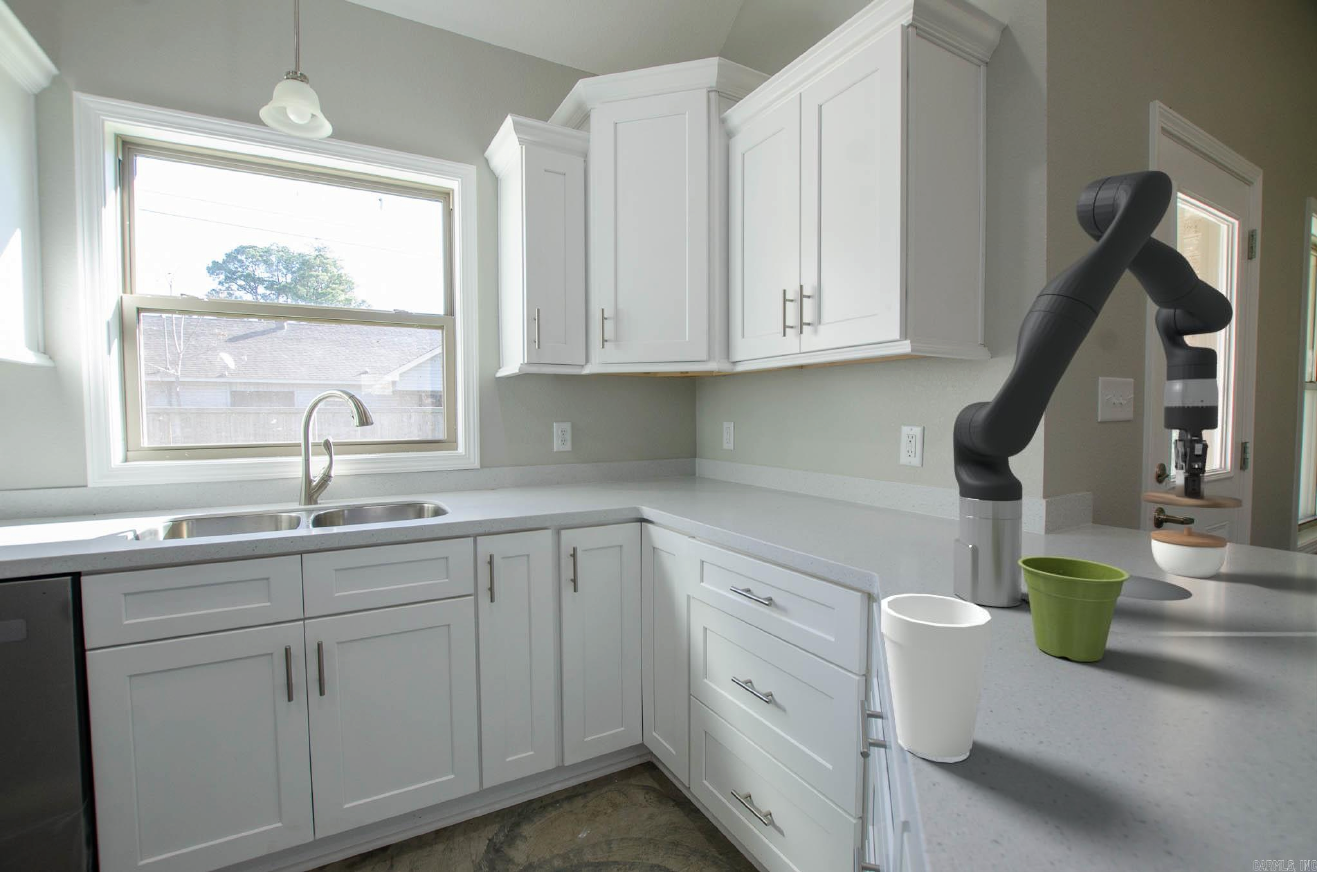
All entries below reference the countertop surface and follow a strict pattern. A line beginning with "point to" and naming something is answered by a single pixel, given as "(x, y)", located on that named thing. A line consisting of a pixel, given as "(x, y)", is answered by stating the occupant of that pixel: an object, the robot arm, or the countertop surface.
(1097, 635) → the plant pot
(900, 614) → the foam cup
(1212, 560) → the lidded jar
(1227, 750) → the countertop surface
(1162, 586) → the rubber mat
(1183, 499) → the walnut lid
